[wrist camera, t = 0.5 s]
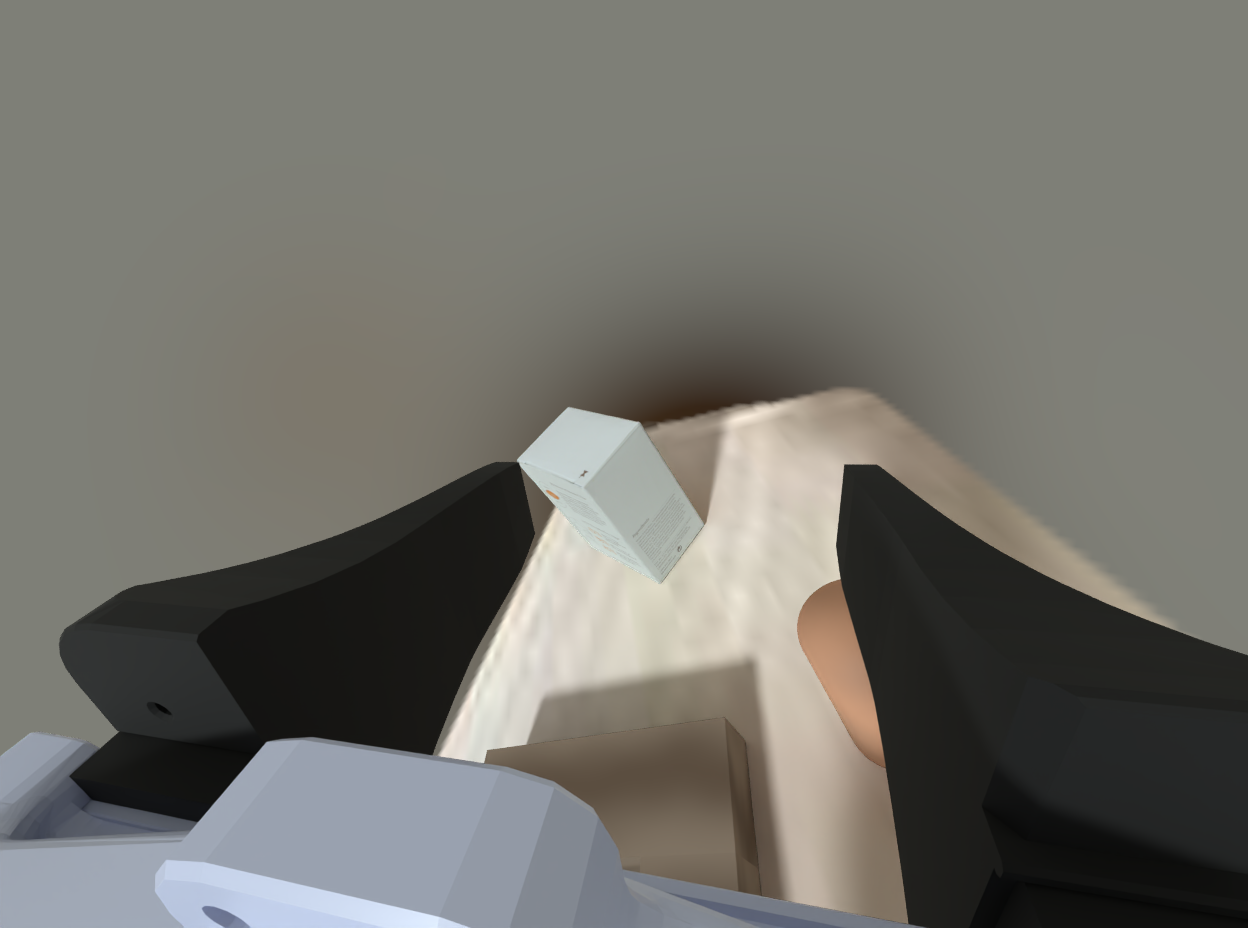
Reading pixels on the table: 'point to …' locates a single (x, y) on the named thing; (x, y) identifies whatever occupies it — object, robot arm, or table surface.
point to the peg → (840, 665)
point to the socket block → (661, 797)
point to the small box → (614, 490)
